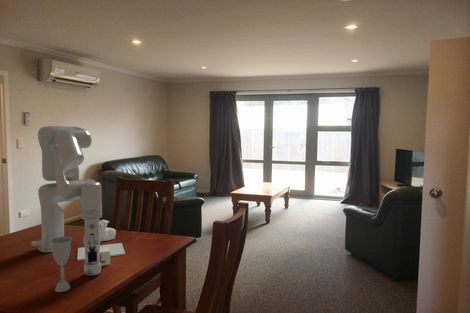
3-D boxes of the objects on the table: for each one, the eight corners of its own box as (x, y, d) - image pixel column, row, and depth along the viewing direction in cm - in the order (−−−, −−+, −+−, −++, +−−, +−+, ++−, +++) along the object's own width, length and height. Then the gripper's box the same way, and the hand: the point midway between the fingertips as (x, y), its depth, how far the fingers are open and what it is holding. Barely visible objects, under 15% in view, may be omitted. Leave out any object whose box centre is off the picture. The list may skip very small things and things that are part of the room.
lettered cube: (95, 267, 139) (94, 253, 139) (94, 261, 145) (94, 248, 145) (110, 265, 142) (110, 251, 141) (109, 259, 147) (109, 246, 147)
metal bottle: (84, 279, 127) (83, 228, 126) (83, 272, 133) (82, 223, 132) (102, 276, 130) (101, 226, 129) (100, 269, 136) (99, 221, 135)
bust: (115, 242, 178) (113, 222, 184) (117, 236, 173) (115, 216, 178) (91, 245, 173) (90, 225, 178) (92, 239, 167) (91, 219, 173)
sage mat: (77, 260, 146) (77, 259, 146) (78, 249, 160) (78, 247, 160) (125, 254, 154) (125, 253, 154) (121, 244, 168) (121, 242, 168)
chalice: (57, 284, 123) (56, 236, 122) (76, 283, 123) (75, 236, 122) (48, 293, 116) (46, 242, 114) (68, 293, 116) (67, 242, 115)
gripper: (102, 217, 124) (103, 265, 125) (101, 208, 140) (101, 250, 141) (80, 219, 121) (81, 268, 122) (81, 209, 136) (82, 253, 138)
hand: (92, 258), depth 131 cm, fingers closed on metal bottle, 5 cm apart
